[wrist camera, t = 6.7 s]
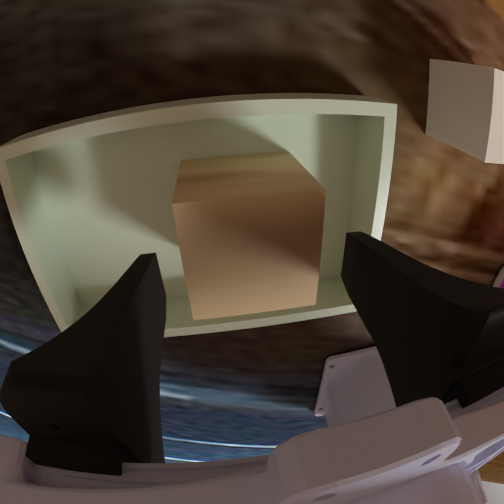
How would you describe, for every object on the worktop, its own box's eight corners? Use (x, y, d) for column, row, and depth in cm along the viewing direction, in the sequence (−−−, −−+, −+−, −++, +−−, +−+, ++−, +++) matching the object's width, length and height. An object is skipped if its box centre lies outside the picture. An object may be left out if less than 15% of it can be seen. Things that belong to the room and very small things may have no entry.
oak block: (287, 242, 17) (315, 304, 13) (193, 253, 17) (193, 320, 13) (288, 151, 15) (326, 189, 10) (180, 160, 14) (172, 204, 10)
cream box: (474, 139, 16) (530, 166, 12) (424, 133, 15) (484, 162, 11) (480, 73, 13) (540, 88, 9) (429, 58, 13) (494, 68, 9)
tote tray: (346, 278, 20) (365, 309, 17) (79, 308, 18) (67, 342, 16) (365, 95, 14) (397, 104, 11) (23, 134, 12) (-8, 150, 10)
